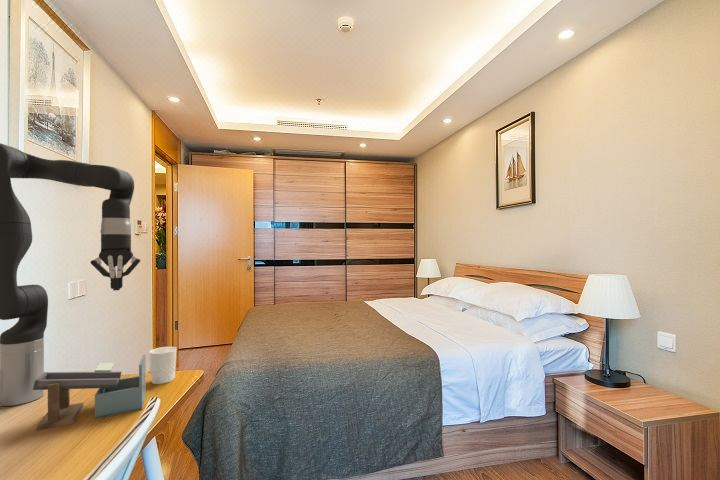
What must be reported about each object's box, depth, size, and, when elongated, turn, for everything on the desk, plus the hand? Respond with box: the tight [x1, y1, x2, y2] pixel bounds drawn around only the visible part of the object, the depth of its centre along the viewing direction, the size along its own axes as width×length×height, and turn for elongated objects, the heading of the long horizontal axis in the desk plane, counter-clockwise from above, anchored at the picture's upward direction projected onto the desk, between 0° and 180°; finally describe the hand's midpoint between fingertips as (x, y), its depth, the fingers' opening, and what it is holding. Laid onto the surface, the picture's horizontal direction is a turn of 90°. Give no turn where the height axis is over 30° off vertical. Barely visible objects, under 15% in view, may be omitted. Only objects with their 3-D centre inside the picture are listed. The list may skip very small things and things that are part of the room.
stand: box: [36, 383, 85, 431], centre depth 89 cm, size 7×10×10 cm
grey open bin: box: [94, 354, 147, 419], centre depth 95 cm, size 10×10×12 cm
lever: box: [33, 362, 122, 391], centre depth 94 cm, size 17×14×3 cm
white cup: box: [148, 345, 178, 385], centre depth 113 cm, size 8×8×10 cm
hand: (116, 290), depth 105 cm, fingers closed
